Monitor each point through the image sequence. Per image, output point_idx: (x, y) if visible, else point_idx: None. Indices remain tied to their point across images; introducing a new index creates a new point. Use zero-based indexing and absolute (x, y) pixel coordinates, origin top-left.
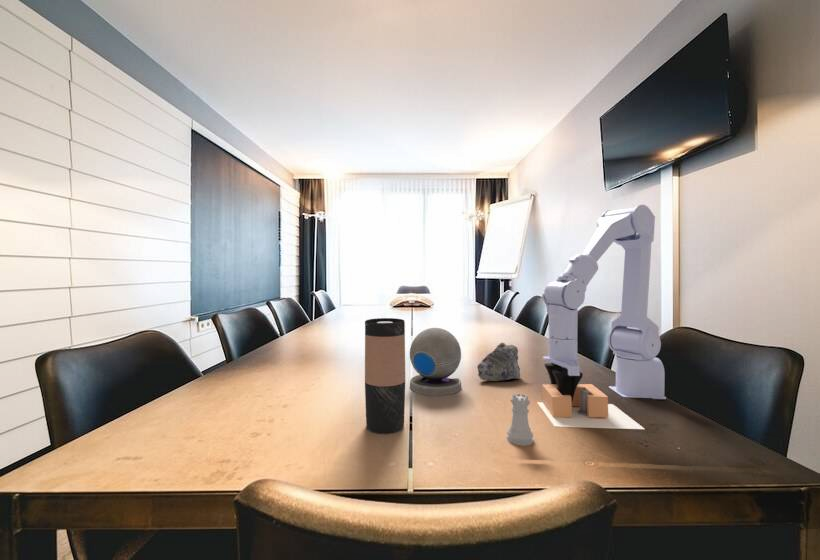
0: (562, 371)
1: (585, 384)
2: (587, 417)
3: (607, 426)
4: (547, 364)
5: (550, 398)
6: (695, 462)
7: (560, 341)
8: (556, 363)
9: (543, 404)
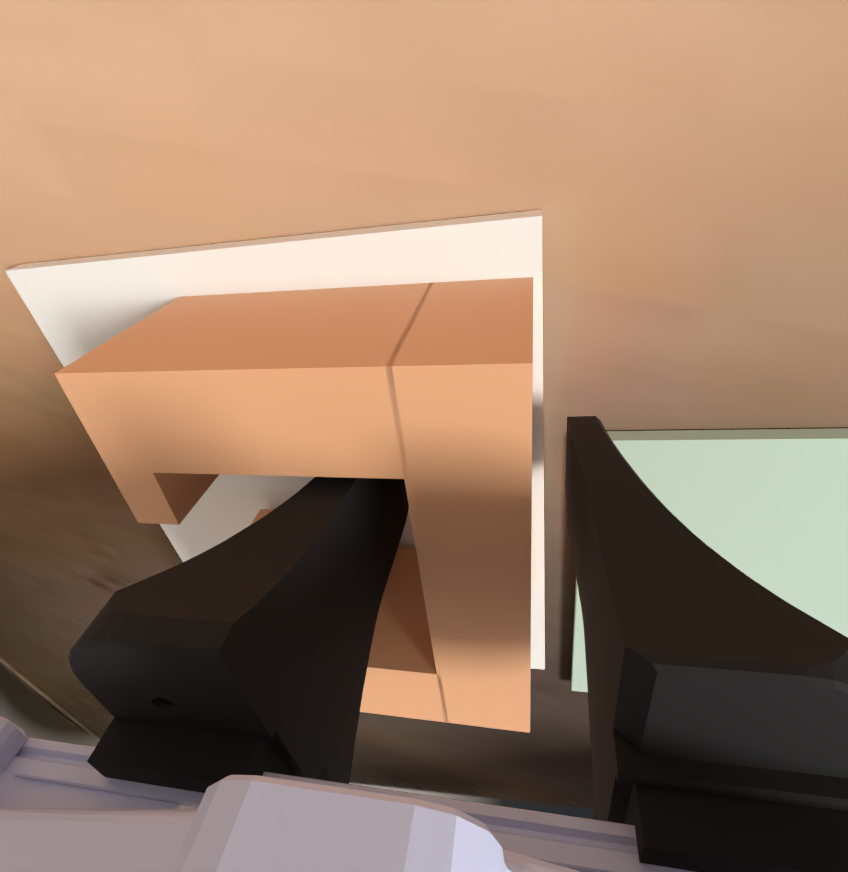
0: (180, 719)
1: (519, 702)
2: (276, 501)
3: (187, 541)
4: (774, 712)
5: (151, 351)
6: (57, 636)
7: None
8: (86, 832)
9: (475, 275)
